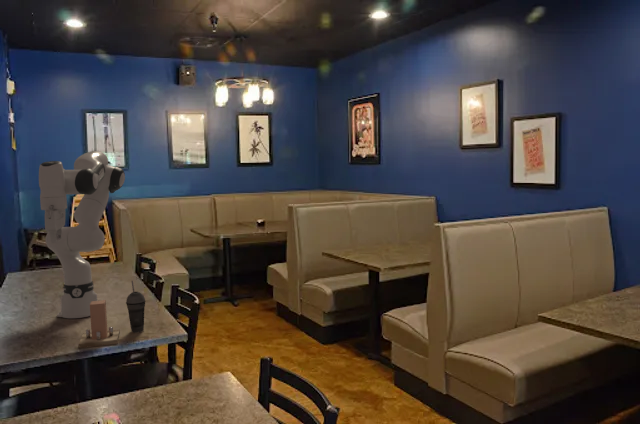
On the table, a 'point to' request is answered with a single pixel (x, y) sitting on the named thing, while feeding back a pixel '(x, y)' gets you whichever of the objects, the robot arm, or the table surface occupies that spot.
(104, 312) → the terracotta post
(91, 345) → the pin plate
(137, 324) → the beverage cup
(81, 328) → the table surface
